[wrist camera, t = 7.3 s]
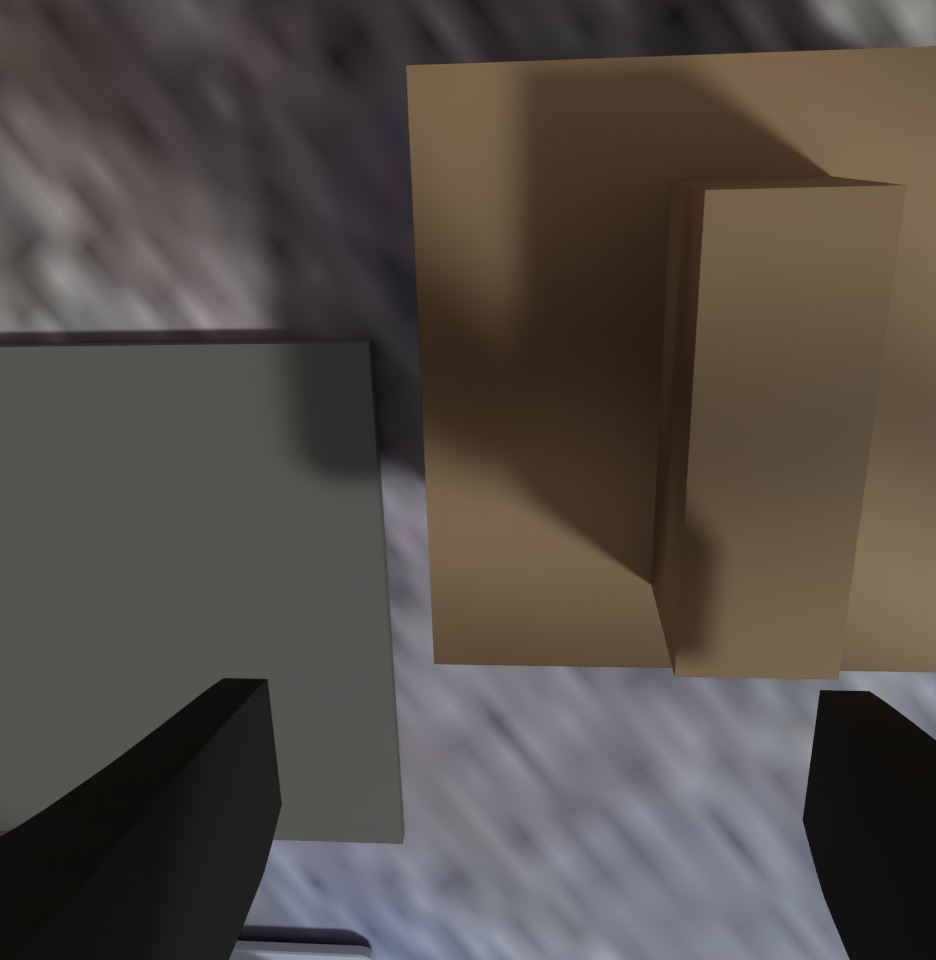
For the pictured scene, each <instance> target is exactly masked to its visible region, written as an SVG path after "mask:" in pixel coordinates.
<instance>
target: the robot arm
mask: <svg viewBox="0 0 936 960" xmlns="http://www.w3.org/2000/svg"><path fill="white" fill-rule="evenodd" d="M281 806H282V800H281V792H280V783H279V774H278V765H277V756H276V748H275V739H274V730H273V721H272V712H271V704H270V695H269V686H268V679H249V678H223V679H221V680H220V681H218V682H217V683H215V684H214V685H212V686H211V687H210V688H208V689H207V690H206V691H204V692H203V693H202V694H200V695H199V696H198V697H196V698H195V699H194V700H193V701H191V702H190V703H189V704H187V705H186V706H185V707H184V708H182V709H181V710H180V711H178V712H177V713H176V714H175V715H173V716H172V717H171V718H170V719H168V720H167V721H166V722H164V723H163V724H162V725H161V726H159V727H158V728H157V729H155V730H154V731H153V732H151V733H150V734H149V735H147V736H146V737H145V738H143V739H142V740H141V741H140V742H138V743H137V744H136V745H134V746H133V747H132V748H130V749H129V750H128V751H126V752H125V753H124V754H122V755H121V756H120V757H119V758H117V759H116V760H114V761H113V762H112V763H110V764H109V765H108V766H106V767H105V768H103V769H102V770H100V771H99V772H97V773H96V774H95V775H93V776H92V777H90V778H89V779H87V780H86V781H85V782H83V783H82V784H80V785H79V786H77V787H76V788H74V789H73V790H72V791H70V792H69V793H67V794H66V795H64V796H63V797H62V798H60V799H59V800H57V801H56V802H54V803H53V804H51V805H50V806H49V807H47V808H46V809H44V810H42V811H41V812H39V813H38V814H36V815H35V816H33V817H32V818H30V819H28V820H27V821H25V822H24V823H22V824H20V825H19V826H17V827H16V828H14V829H12V830H11V831H9V832H7V833H6V834H4V835H2V836H1V837H0V960H378V958H377V955H376V954H375V953H374V952H373V950H371V949H369V948H367V947H364V946H355V945H330V944H306V943H282V942H258V941H237V939H238V937H239V934H240V932H241V930H242V927H243V925H244V922H245V920H246V917H247V915H248V912H249V910H250V907H251V905H252V902H253V900H254V897H255V895H256V892H257V890H258V887H259V884H260V882H261V879H262V877H263V874H264V870H265V867H266V863H267V860H268V856H269V852H270V849H271V845H272V841H273V838H274V834H275V830H276V826H277V822H278V818H279V814H280V810H281ZM803 823H804V827H805V831H806V834H807V838H808V842H809V846H810V850H811V854H812V857H813V861H814V865H815V868H816V872H817V875H818V878H819V882H820V885H821V889H822V892H823V896H824V898H825V901H826V903H827V906H828V908H829V911H830V913H831V916H832V918H833V920H834V923H835V925H836V928H837V930H838V933H839V935H840V937H841V940H842V942H843V945H844V947H845V949H846V952H847V954H848V957H849V959H850V960H936V740H935V739H934V738H932V737H931V736H930V735H928V734H927V733H926V732H924V731H923V730H922V729H920V728H919V727H918V726H917V725H915V724H914V723H913V722H911V721H910V720H909V719H907V718H906V717H905V716H903V715H902V714H901V713H899V712H898V711H897V710H895V709H894V708H893V707H891V706H890V705H889V704H887V703H886V702H884V701H883V700H882V699H880V698H879V697H877V696H876V695H874V694H873V693H871V692H870V691H832V690H820V695H819V703H818V710H817V717H816V725H815V732H814V740H813V747H812V755H811V762H810V770H809V777H808V785H807V792H806V800H805V807H804V815H803Z"/></svg>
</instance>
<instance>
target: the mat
mask: <svg viewBox="0 0 936 960" xmlns="http://www.w3.org/2000/svg"><path fill="white" fill-rule="evenodd" d="M223 678H249V679H268V686H269V695H270V704H271V712H272V721H273V730H274V739H275V748H276V756H277V765H278V774H279V783H280V792H281V800H282V806H281V810H280V814H279V818H278V822H277V826H276V830H275V834H274V838H273V840H299V841H330V842H361V843H392V844H403V838H404V819H403V804H402V788H401V773H400V758H399V743H398V727H397V712H396V697H395V682H394V666H393V651H392V636H391V621H390V605H389V590H388V575H387V560H386V544H385V529H384V514H383V499H382V483H381V468H380V453H379V438H378V422H377V407H376V392H375V377H374V362H373V346H372V339H330V340H248V341H165V342H83V343H1V344H0V831H11V830H12V829H14V828H16V827H17V826H19V825H20V824H22V823H24V822H25V821H27V820H28V819H30V818H32V817H33V816H35V815H36V814H38V813H39V812H41V811H42V810H44V809H46V808H47V807H49V806H50V805H51V804H53V803H54V802H56V801H57V800H59V799H60V798H62V797H63V796H64V795H66V794H67V793H69V792H70V791H72V790H73V789H74V788H76V787H77V786H79V785H80V784H82V783H83V782H85V781H86V780H87V779H89V778H90V777H92V776H93V775H95V774H96V773H97V772H99V771H100V770H102V769H103V768H105V767H106V766H108V765H109V764H110V763H112V762H113V761H114V760H116V759H117V758H119V757H120V756H121V755H122V754H124V753H125V752H126V751H128V750H129V749H130V748H132V747H133V746H134V745H136V744H137V743H138V742H140V741H141V740H142V739H143V738H145V737H146V736H147V735H149V734H150V733H151V732H153V731H154V730H155V729H157V728H158V727H159V726H161V725H162V724H163V723H164V722H166V721H167V720H168V719H170V718H171V717H172V716H173V715H175V714H176V713H177V712H178V711H180V710H181V709H182V708H184V707H185V706H186V705H187V704H189V703H190V702H191V701H193V700H194V699H195V698H196V697H198V696H199V695H200V694H202V693H203V692H204V691H206V690H207V689H208V688H210V687H211V686H212V685H214V684H215V683H217V682H218V681H220V680H221V679H223Z"/></svg>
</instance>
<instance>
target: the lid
mask: <svg viewBox="0 0 936 960" xmlns="http://www.w3.org/2000/svg"><path fill="white" fill-rule="evenodd" d="M406 75H407V97H408V118H409V139H410V160H411V181H412V203H413V224H414V245H415V266H416V287H417V309H418V330H419V351H420V372H421V393H422V414H423V436H424V457H425V478H426V499H427V520H428V542H429V563H430V584H431V605H432V626H433V648H434V664H459V665H520V666H582V667H644V668H673V672H674V676H675V677H721V678H780V679H838V678H839V671H890V672H936V46H928V47H900V48H873V49H845V50H818V51H790V52H763V53H735V54H708V55H680V56H653V57H625V58H598V59H570V60H543V61H515V62H488V63H460V64H433V65H406Z"/></svg>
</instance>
